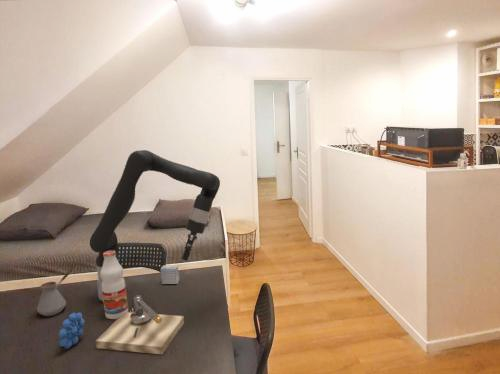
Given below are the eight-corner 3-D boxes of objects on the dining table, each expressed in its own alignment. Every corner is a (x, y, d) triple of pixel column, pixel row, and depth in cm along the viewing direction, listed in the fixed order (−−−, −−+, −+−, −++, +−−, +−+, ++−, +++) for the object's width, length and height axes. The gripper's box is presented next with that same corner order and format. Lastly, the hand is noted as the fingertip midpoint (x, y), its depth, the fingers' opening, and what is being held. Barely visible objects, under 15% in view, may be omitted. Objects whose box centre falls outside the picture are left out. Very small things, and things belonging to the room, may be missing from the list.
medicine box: (179, 281, 184) (178, 265, 182) (177, 285, 180) (175, 268, 178) (164, 281, 185) (163, 265, 183) (161, 285, 180) (160, 268, 179)
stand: (96, 348, 131) (95, 340, 131) (125, 318, 151) (125, 311, 150) (162, 354, 126) (161, 346, 125) (184, 322, 145) (183, 315, 145)
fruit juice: (128, 306, 161) (121, 246, 155) (128, 317, 152) (120, 254, 146) (106, 310, 158) (98, 250, 153) (104, 321, 149) (95, 257, 144)
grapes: (77, 333, 141) (72, 305, 139) (90, 336, 139) (86, 307, 137) (52, 352, 130) (47, 321, 128) (66, 355, 128) (61, 324, 126)
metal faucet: (127, 319, 144) (125, 297, 142) (147, 311, 149) (144, 291, 147) (151, 345, 126) (148, 321, 124) (172, 336, 131) (169, 313, 129)
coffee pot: (52, 320, 152) (46, 287, 149) (31, 316, 156) (25, 284, 153) (88, 296, 172) (84, 266, 169) (69, 293, 176) (65, 265, 173)
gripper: (190, 216, 154) (178, 252, 153) (187, 218, 140) (174, 258, 139) (206, 221, 155) (195, 257, 154) (206, 224, 141) (193, 264, 140)
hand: (185, 258), depth 147 cm, fingers open, 8 cm apart
